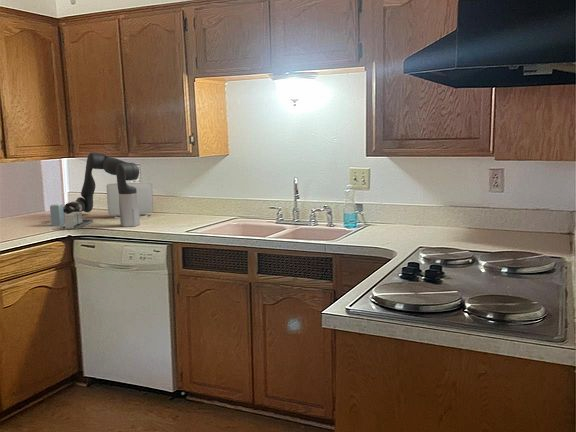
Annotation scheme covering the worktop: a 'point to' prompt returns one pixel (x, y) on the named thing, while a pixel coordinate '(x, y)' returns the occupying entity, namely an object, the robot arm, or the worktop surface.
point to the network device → (142, 198)
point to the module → (57, 214)
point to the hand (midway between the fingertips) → (61, 212)
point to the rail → (75, 221)
